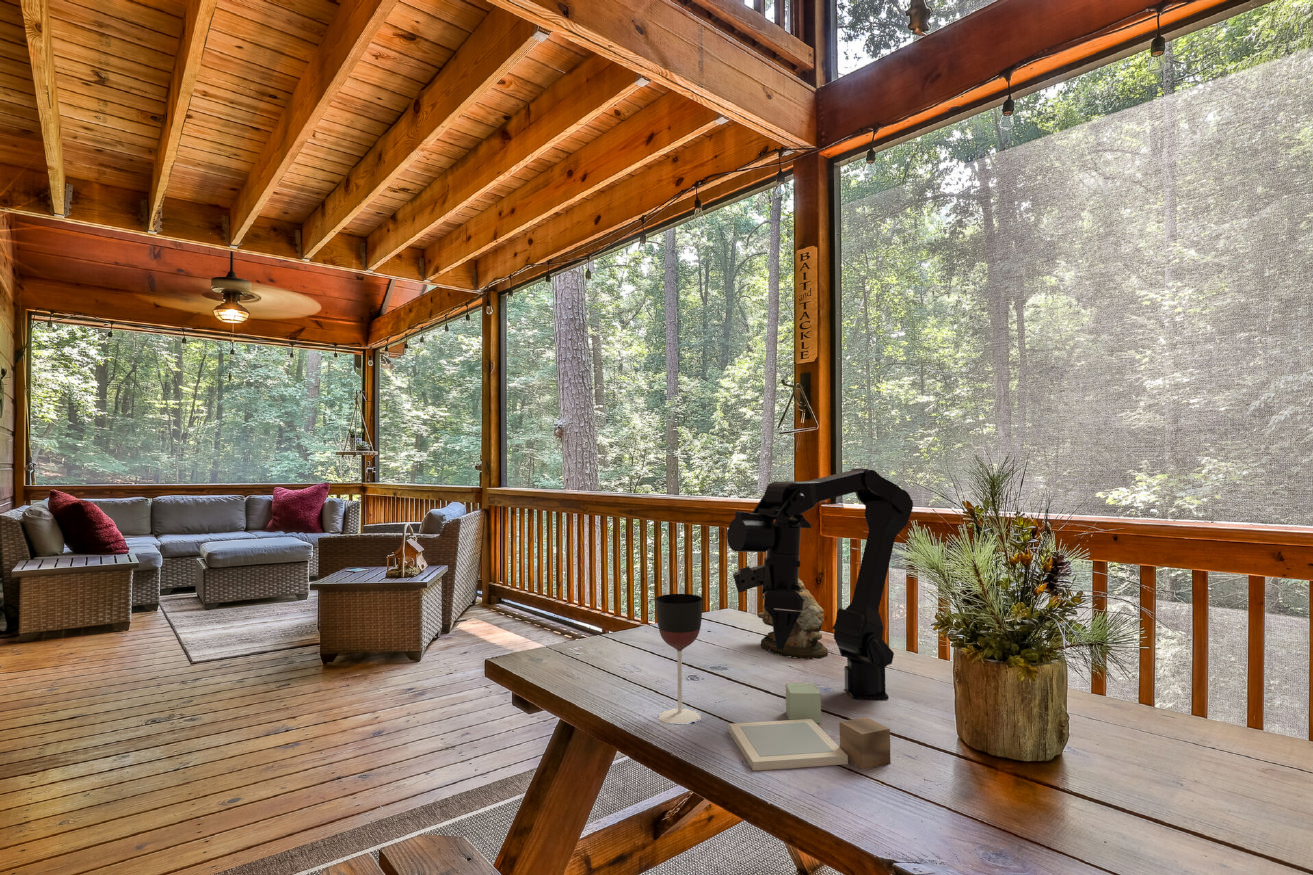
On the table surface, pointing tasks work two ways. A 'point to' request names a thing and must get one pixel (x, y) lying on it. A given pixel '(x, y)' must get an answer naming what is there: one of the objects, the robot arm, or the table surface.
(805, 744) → the tray
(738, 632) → the table surface
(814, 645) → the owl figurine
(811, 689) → the sage cube
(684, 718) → the wineglass
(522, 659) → the table surface
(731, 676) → the table surface
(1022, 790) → the table surface
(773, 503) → the robot arm
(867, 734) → the walnut cube
